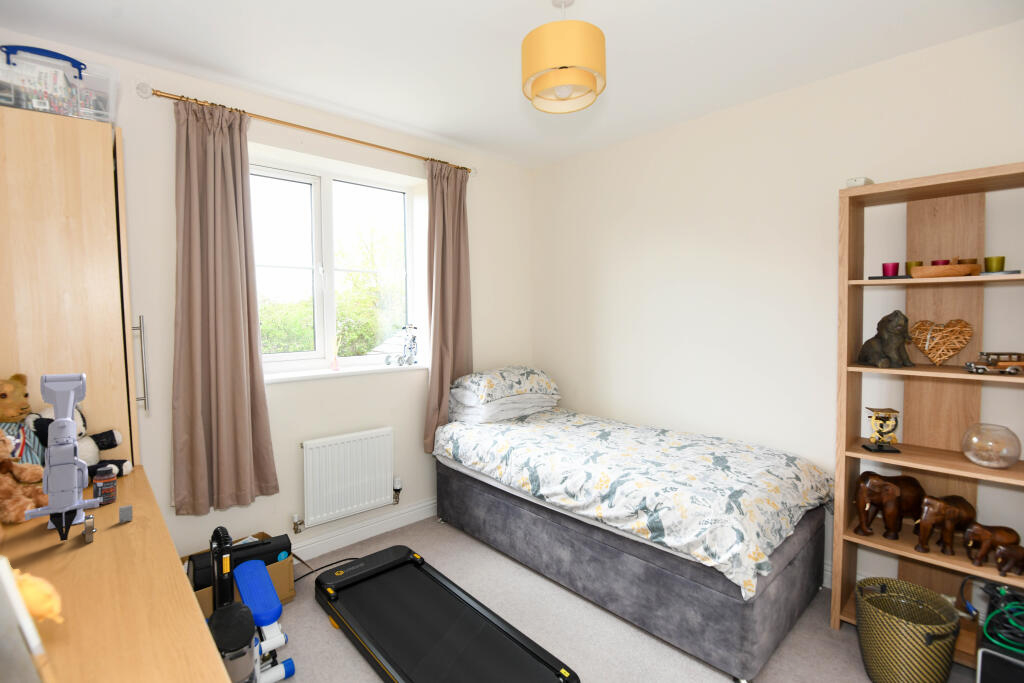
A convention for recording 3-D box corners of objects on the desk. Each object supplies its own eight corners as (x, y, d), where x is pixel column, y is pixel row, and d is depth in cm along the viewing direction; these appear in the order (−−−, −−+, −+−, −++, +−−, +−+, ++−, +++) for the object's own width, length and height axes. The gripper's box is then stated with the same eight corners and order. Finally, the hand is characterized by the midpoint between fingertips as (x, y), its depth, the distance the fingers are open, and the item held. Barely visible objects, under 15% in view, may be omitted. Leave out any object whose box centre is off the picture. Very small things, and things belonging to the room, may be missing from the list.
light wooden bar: (85, 533, 136) (85, 518, 136) (92, 532, 137) (92, 516, 137) (85, 542, 130) (85, 526, 130) (93, 541, 131) (92, 525, 131)
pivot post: (81, 531, 137) (81, 515, 137) (96, 528, 140) (96, 513, 139) (81, 535, 135) (81, 519, 135) (97, 532, 137) (96, 516, 137)
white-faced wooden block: (119, 522, 144) (119, 507, 144) (132, 519, 146) (131, 504, 146) (119, 523, 143) (119, 508, 143) (132, 520, 145) (132, 506, 145)
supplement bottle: (103, 506, 157) (102, 471, 156) (88, 504, 158) (87, 470, 158) (121, 500, 163) (120, 466, 162) (107, 498, 164) (106, 465, 163)
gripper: (23, 499, 122) (24, 552, 122) (99, 486, 132) (100, 536, 132) (25, 492, 127) (26, 543, 128) (98, 480, 137) (99, 528, 137)
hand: (64, 539), depth 130 cm, fingers closed
